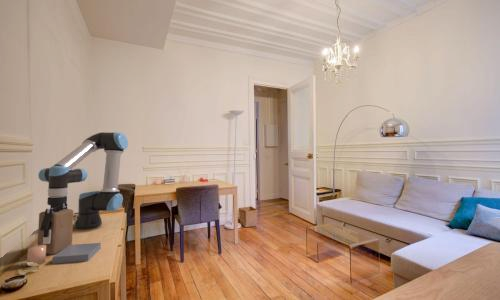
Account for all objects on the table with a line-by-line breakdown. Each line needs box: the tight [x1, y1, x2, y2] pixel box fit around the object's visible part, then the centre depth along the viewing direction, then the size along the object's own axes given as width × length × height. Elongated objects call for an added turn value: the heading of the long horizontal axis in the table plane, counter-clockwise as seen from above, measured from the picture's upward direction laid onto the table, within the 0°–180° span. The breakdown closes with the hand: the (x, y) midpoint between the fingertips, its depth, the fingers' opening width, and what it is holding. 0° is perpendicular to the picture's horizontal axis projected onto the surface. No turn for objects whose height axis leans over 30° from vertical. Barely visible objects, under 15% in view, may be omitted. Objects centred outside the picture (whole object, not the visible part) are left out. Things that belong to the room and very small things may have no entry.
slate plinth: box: [51, 242, 102, 265], centre depth 108 cm, size 14×14×3 cm
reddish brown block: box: [26, 244, 47, 266], centre depth 99 cm, size 6×6×7 cm
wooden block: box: [37, 208, 74, 256], centre depth 113 cm, size 10×10×20 cm
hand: (55, 238), depth 113 cm, fingers open, 12 cm apart
